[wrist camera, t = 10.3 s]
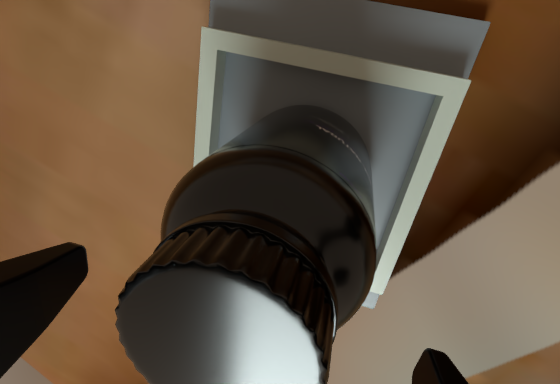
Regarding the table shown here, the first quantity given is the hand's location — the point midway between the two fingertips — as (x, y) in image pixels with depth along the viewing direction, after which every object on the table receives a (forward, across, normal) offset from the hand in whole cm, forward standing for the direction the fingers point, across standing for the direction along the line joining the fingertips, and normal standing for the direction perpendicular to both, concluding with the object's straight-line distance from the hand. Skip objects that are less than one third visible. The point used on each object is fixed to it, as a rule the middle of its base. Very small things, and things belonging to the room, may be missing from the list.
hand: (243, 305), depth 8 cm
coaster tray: (+11, 0, 0) cm, 11 cm away
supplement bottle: (+10, 0, 0) cm, 11 cm away
